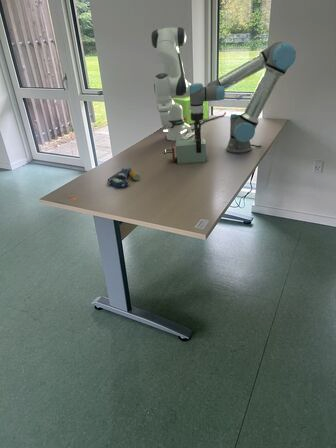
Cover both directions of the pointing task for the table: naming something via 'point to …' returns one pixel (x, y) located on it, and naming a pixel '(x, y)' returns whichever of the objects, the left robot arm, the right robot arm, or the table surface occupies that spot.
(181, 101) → the lime green box
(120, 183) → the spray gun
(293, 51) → the right robot arm
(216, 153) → the table surface
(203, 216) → the table surface
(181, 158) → the green drawer cabinet
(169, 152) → the drawer
